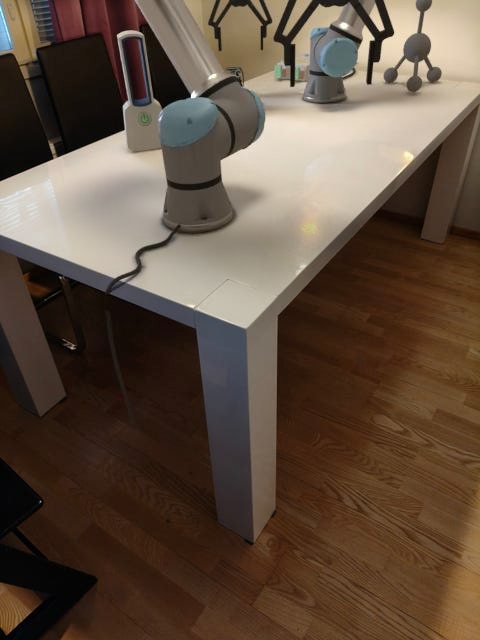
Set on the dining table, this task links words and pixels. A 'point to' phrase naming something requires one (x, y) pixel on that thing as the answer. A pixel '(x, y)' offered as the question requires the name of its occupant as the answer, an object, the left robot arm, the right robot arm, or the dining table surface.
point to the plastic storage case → (300, 68)
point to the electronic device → (139, 102)
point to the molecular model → (416, 54)
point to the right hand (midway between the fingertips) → (241, 50)
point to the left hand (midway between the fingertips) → (330, 84)
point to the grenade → (236, 73)
